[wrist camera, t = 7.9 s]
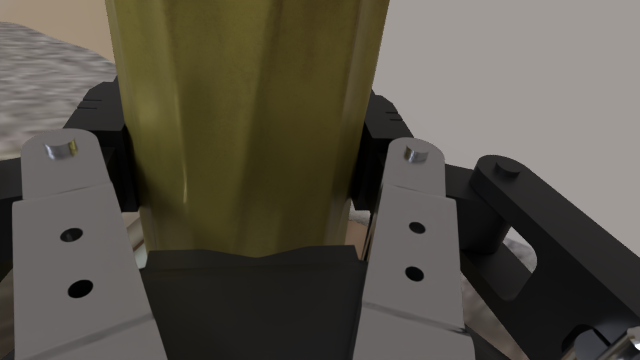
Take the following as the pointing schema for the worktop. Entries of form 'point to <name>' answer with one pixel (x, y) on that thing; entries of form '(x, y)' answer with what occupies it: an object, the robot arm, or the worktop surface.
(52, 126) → the worktop surface
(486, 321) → the worktop surface
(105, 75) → the worktop surface
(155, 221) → the vase
